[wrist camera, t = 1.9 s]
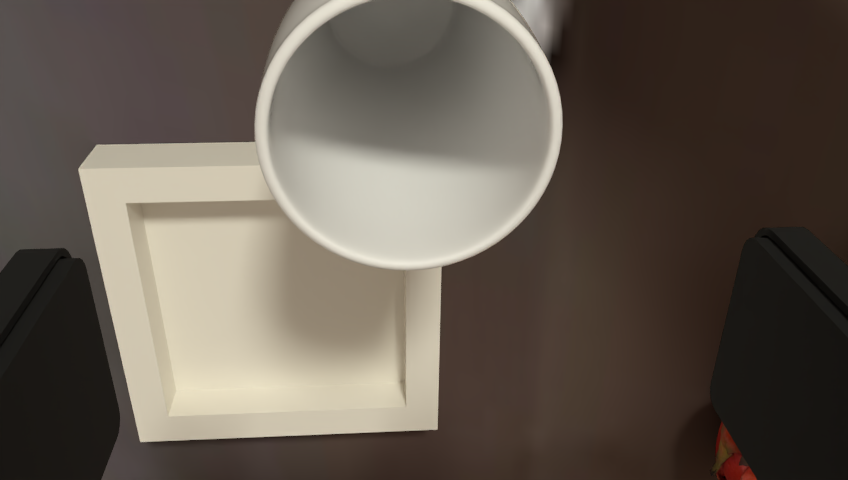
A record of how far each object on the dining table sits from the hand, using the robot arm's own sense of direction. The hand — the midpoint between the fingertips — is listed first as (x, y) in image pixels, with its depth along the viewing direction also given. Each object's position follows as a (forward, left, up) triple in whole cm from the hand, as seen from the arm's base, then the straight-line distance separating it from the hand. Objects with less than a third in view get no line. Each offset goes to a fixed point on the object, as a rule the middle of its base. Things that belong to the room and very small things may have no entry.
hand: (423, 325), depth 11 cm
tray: (+5, +13, -21) cm, 25 cm away
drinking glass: (0, 0, -22) cm, 22 cm away
